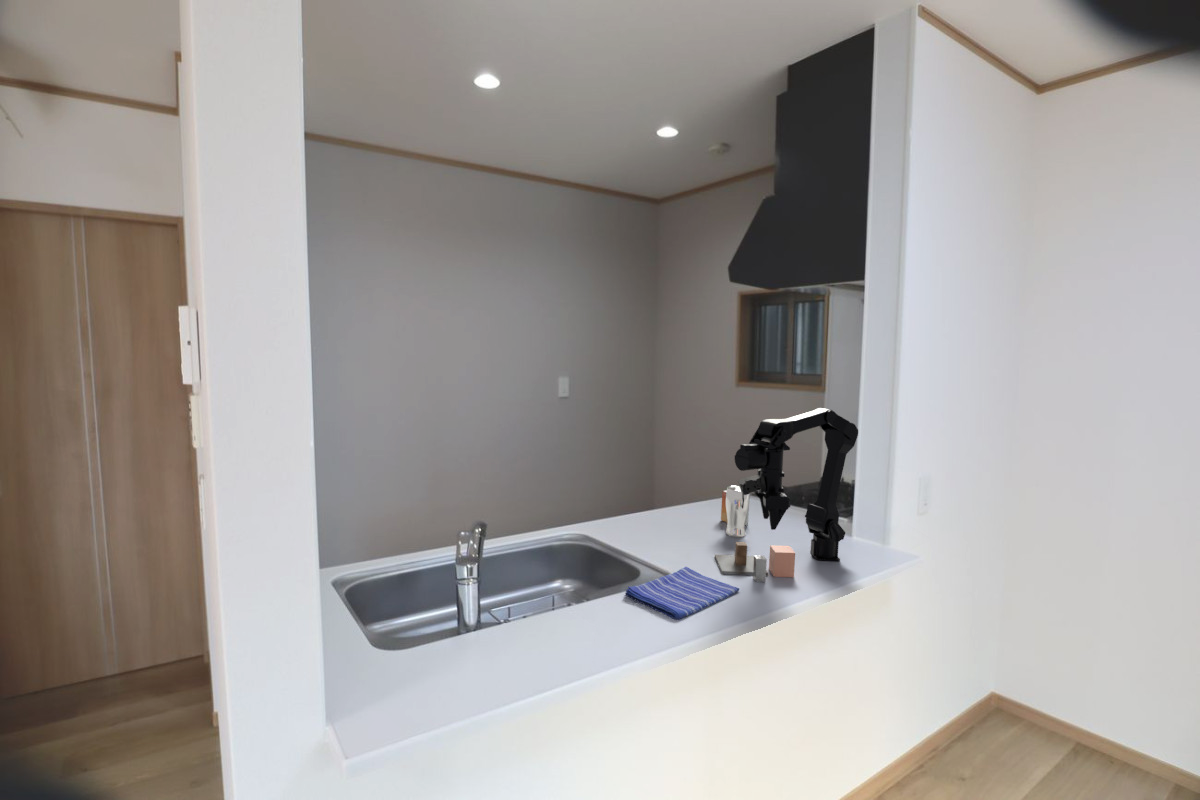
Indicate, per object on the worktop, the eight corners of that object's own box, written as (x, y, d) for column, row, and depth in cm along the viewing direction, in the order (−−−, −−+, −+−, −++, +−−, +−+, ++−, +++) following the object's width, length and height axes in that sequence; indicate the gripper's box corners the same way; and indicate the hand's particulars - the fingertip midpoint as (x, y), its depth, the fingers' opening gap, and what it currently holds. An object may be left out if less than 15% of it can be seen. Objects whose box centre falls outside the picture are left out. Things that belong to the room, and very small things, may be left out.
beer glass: (721, 535, 186) (723, 489, 184) (727, 529, 192) (729, 484, 190) (743, 539, 182) (745, 492, 181) (749, 533, 189) (751, 487, 187)
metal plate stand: (757, 558, 166) (758, 537, 166) (767, 575, 154) (769, 552, 154) (714, 557, 166) (715, 535, 166) (722, 574, 155) (723, 550, 154)
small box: (720, 520, 201) (721, 490, 200) (733, 518, 204) (734, 489, 203) (735, 527, 194) (736, 496, 193) (748, 525, 197) (750, 494, 195)
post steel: (763, 577, 153) (764, 555, 152) (765, 582, 150) (766, 559, 149) (752, 577, 153) (754, 555, 152) (755, 581, 150) (756, 559, 149)
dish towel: (621, 597, 140) (622, 586, 140) (685, 572, 156) (685, 562, 156) (677, 624, 128) (677, 611, 127) (739, 594, 144) (740, 583, 143)
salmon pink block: (788, 569, 159) (789, 545, 158) (793, 577, 153) (795, 552, 153) (768, 568, 159) (770, 545, 158) (773, 576, 154) (775, 552, 153)
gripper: (735, 459, 166) (733, 512, 168) (747, 474, 148) (745, 534, 150) (775, 460, 166) (773, 513, 167) (792, 475, 147) (789, 535, 149)
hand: (769, 523), depth 158 cm, fingers open, 9 cm apart
